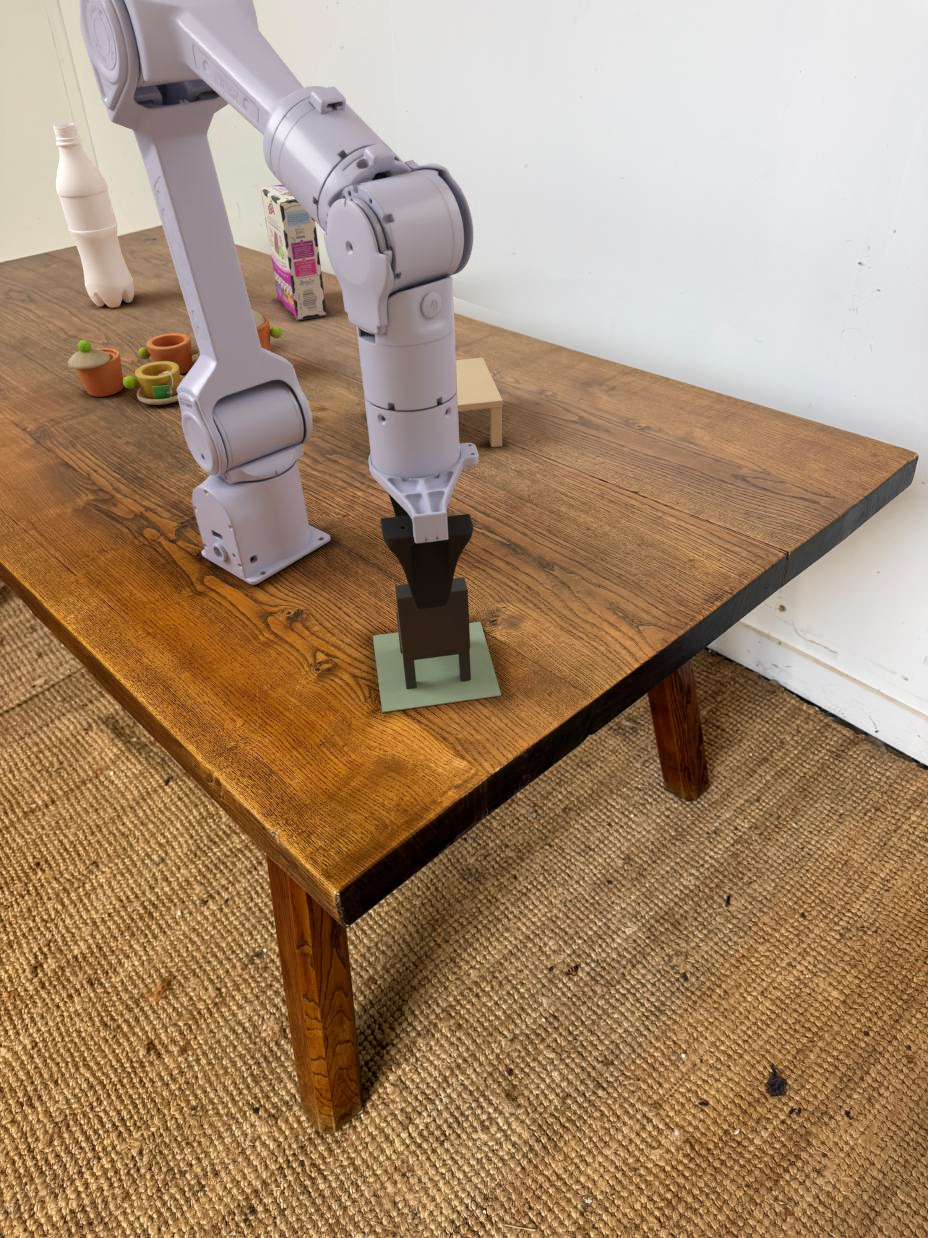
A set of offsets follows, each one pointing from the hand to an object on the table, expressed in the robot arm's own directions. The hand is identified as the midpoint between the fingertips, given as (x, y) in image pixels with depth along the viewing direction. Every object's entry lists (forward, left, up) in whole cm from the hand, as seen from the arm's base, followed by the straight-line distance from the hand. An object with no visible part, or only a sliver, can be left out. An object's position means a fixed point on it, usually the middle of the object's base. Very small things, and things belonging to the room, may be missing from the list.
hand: (424, 571), depth 62 cm
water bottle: (+33, +99, -10) cm, 105 cm away
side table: (+31, +28, -10) cm, 43 cm away
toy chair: (+1, +1, -10) cm, 10 cm away
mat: (+1, +1, -10) cm, 10 cm away
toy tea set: (+22, +64, -10) cm, 69 cm away
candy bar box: (+49, +72, -10) cm, 88 cm away
